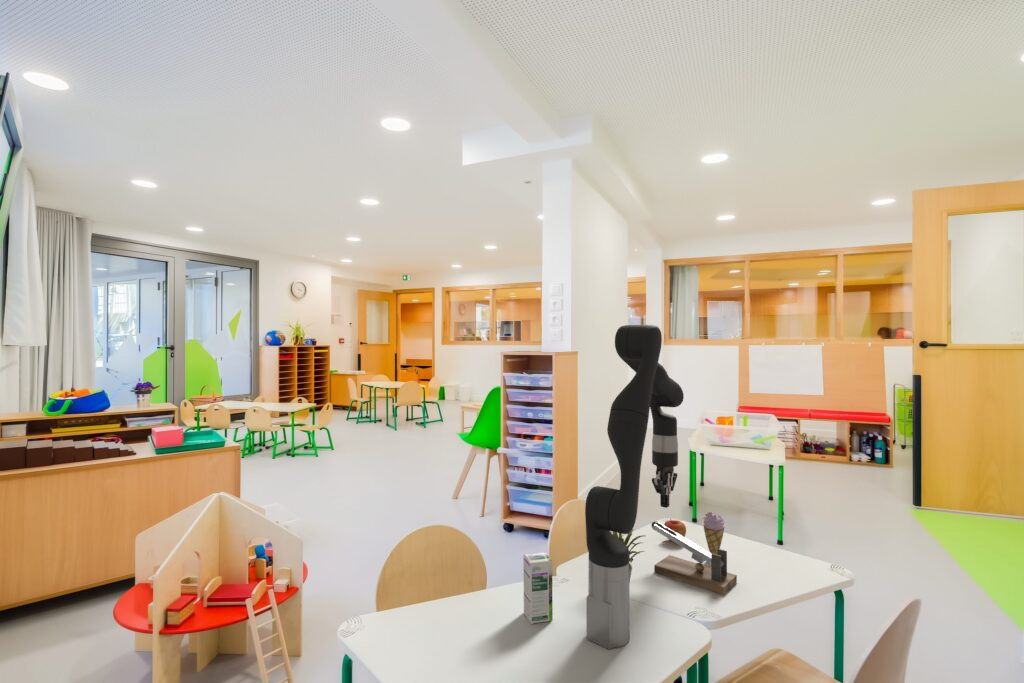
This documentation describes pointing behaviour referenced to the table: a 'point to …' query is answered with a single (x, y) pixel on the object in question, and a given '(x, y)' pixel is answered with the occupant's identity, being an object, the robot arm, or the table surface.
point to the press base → (699, 572)
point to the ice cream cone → (713, 531)
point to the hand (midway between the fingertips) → (664, 506)
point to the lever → (685, 543)
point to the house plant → (628, 547)
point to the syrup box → (538, 587)
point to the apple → (676, 527)
